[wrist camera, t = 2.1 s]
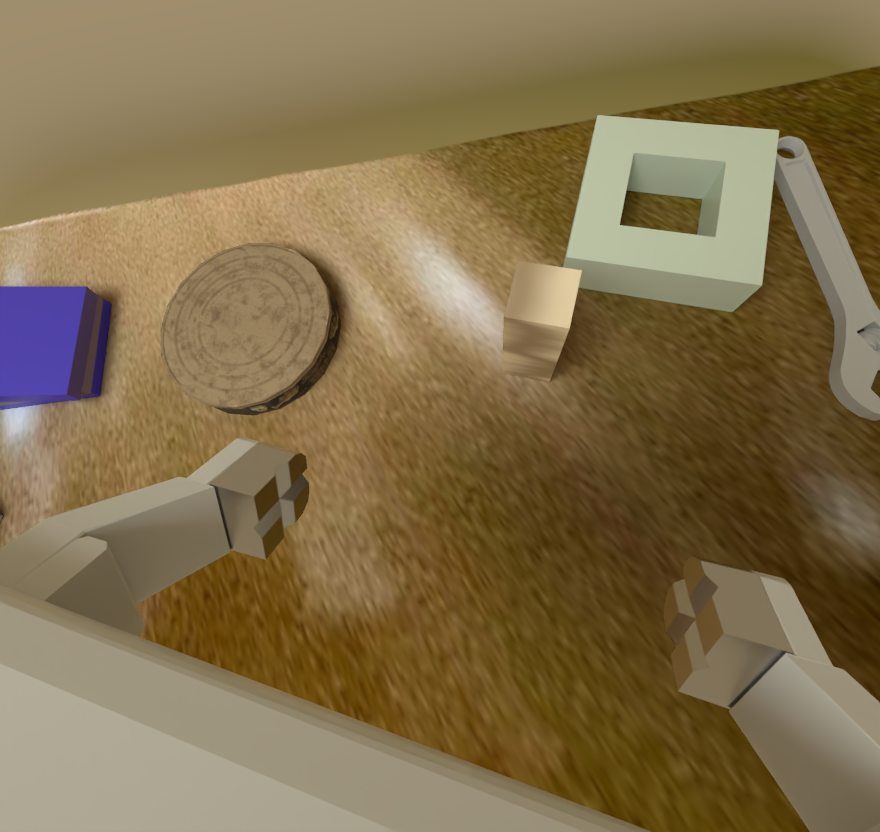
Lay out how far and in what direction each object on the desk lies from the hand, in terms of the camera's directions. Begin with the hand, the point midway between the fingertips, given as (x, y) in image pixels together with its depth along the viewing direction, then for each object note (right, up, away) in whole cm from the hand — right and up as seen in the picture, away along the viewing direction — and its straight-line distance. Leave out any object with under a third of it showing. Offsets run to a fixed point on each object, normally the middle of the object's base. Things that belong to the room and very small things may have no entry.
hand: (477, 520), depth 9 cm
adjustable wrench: (+32, +14, +26) cm, 43 cm away
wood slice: (-18, +10, +31) cm, 37 cm away
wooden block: (+7, +7, +27) cm, 28 cm away
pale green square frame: (+18, +19, +28) cm, 38 cm away
